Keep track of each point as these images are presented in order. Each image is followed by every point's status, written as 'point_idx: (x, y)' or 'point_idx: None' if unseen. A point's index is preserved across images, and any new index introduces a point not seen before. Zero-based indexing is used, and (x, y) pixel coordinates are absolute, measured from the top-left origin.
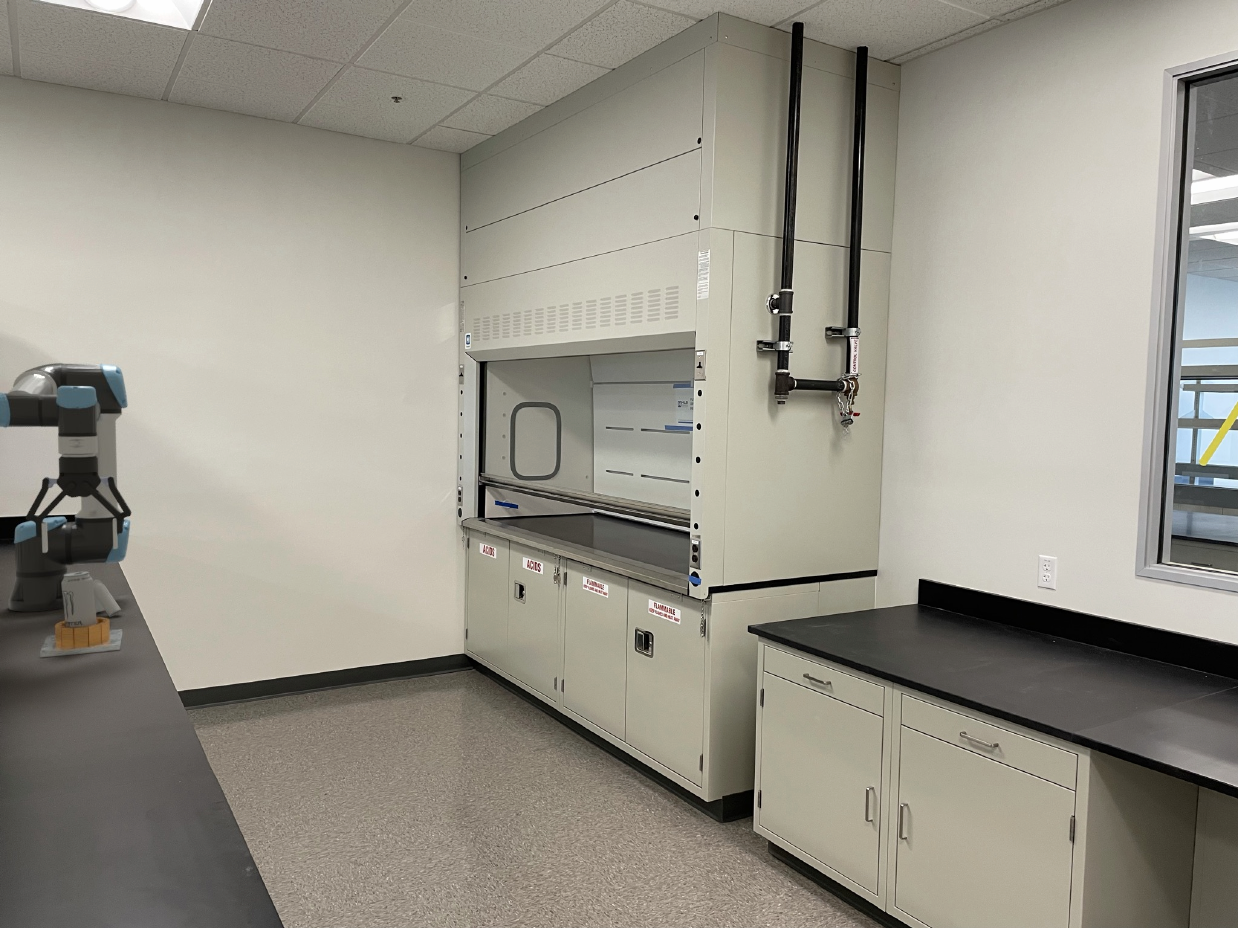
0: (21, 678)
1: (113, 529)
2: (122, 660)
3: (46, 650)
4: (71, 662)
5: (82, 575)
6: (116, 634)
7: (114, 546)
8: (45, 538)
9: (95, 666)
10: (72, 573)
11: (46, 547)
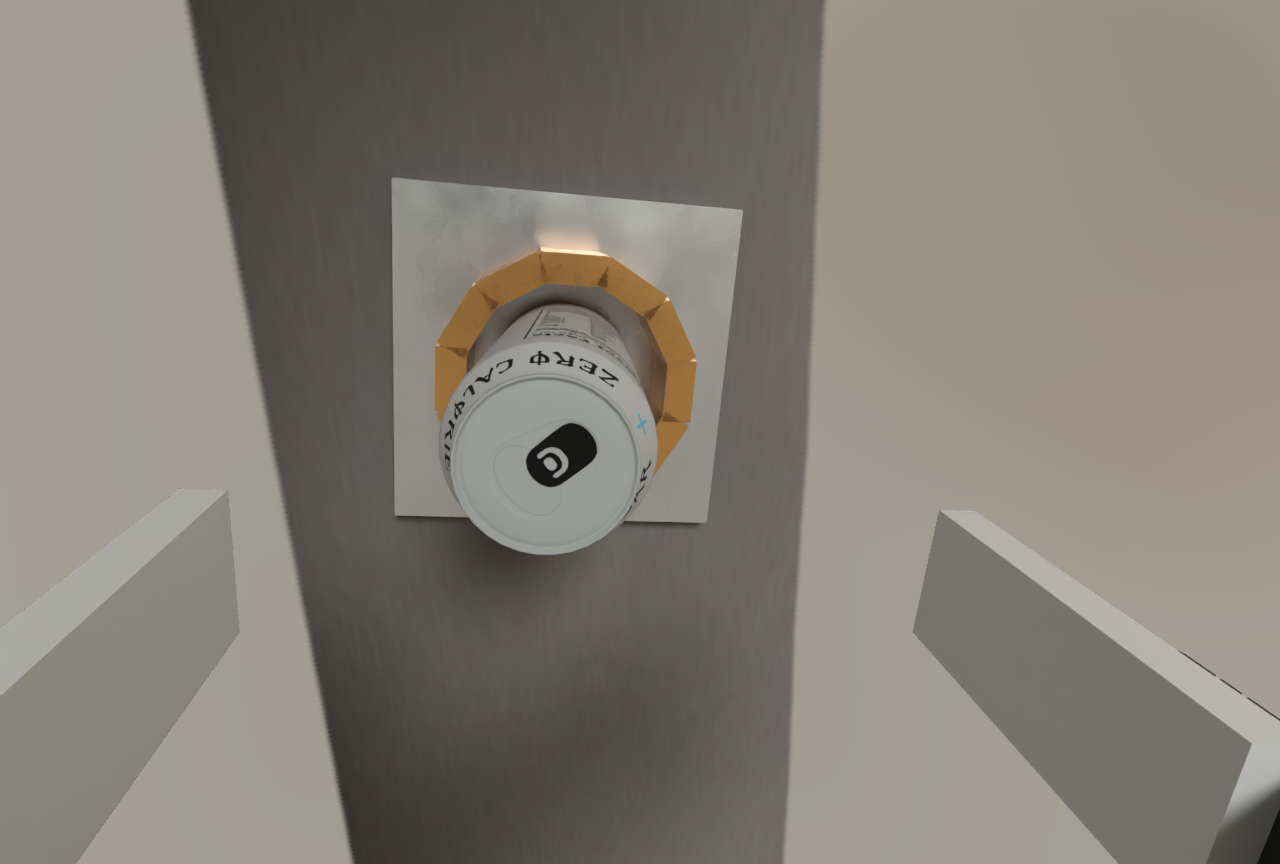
0: (370, 772)
1: (1067, 798)
2: (697, 671)
3: (419, 499)
4: (525, 629)
5: (592, 537)
6: (708, 320)
7: (936, 649)
8: (141, 757)
9: (606, 714)
10: (515, 412)
11: (212, 656)
